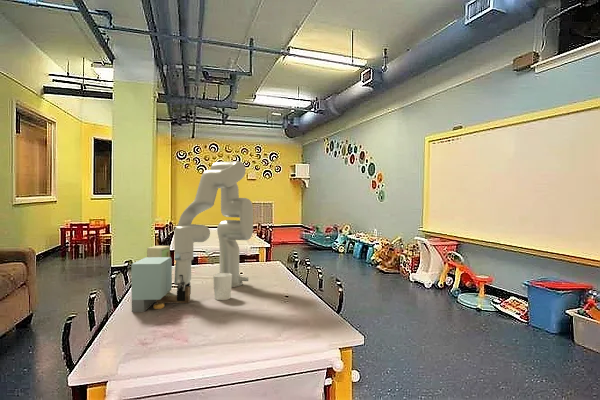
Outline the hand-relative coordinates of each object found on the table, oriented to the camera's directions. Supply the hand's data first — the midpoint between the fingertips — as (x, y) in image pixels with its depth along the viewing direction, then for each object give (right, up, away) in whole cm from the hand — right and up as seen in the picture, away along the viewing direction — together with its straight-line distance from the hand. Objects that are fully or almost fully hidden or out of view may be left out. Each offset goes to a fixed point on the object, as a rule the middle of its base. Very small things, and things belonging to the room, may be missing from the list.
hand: (183, 297), depth 164 cm
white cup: (+15, -2, +6) cm, 16 cm away
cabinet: (-11, -2, -6) cm, 12 cm away
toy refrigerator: (-15, -2, +13) cm, 20 cm away
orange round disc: (-7, -2, -8) cm, 11 cm away
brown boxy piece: (-4, -2, 0) cm, 5 cm away
